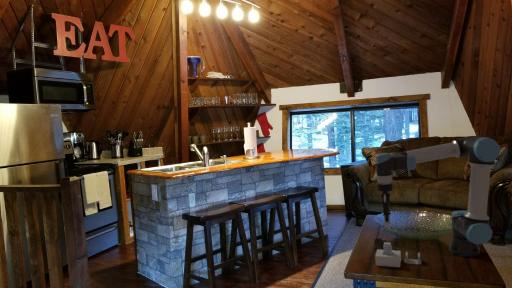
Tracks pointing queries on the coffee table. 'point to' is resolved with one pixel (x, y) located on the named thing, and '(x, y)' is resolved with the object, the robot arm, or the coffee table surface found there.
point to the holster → (412, 261)
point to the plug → (387, 248)
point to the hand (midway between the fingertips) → (387, 227)
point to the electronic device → (379, 243)
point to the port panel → (388, 258)
